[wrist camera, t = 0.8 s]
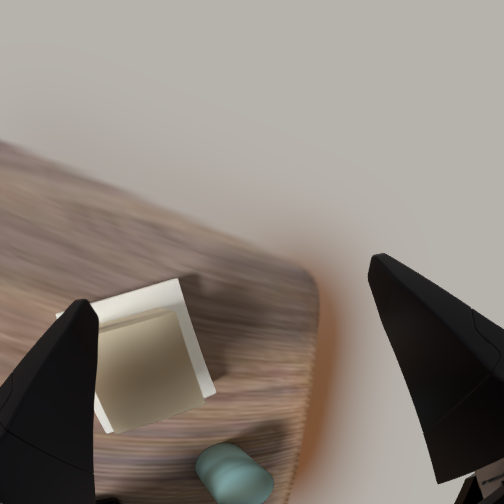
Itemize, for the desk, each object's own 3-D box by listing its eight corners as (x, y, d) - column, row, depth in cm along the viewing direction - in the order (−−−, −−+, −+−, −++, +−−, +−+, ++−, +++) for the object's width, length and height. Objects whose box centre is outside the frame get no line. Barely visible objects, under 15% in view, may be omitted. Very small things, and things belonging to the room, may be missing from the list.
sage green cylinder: (251, 468, 20) (279, 493, 16) (206, 490, 17) (229, 520, 13) (235, 434, 19) (265, 459, 16) (186, 456, 17) (208, 488, 13)
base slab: (203, 382, 20) (216, 392, 17) (105, 418, 16) (106, 433, 13) (169, 279, 19) (177, 278, 17) (61, 311, 15) (55, 314, 13)
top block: (183, 381, 16) (205, 403, 13) (111, 405, 14) (115, 434, 10) (159, 307, 16) (175, 311, 13) (82, 328, 14) (75, 339, 10)
